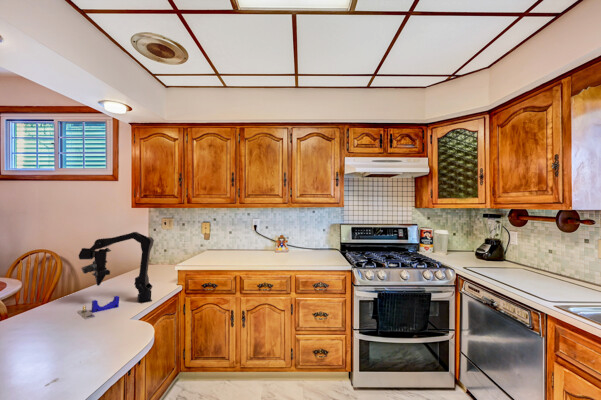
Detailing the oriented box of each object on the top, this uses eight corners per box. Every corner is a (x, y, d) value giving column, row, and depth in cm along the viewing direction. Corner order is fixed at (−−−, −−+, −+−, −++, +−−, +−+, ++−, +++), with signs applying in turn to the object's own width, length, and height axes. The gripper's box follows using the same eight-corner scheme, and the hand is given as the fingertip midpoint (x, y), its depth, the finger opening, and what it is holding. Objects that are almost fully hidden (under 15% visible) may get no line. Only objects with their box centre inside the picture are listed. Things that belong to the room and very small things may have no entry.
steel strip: (86, 310, 146) (87, 303, 146) (94, 316, 136) (95, 309, 136) (77, 311, 143) (77, 304, 143) (85, 319, 133) (85, 311, 133)
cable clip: (115, 305, 154) (116, 295, 155) (118, 307, 152) (119, 296, 152) (90, 311, 144) (91, 300, 145) (93, 313, 142) (94, 301, 142)
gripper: (79, 259, 159) (77, 285, 158) (88, 262, 147) (85, 290, 146) (101, 257, 168) (99, 282, 166) (111, 260, 156) (109, 287, 155)
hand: (98, 285), depth 158 cm, fingers closed
